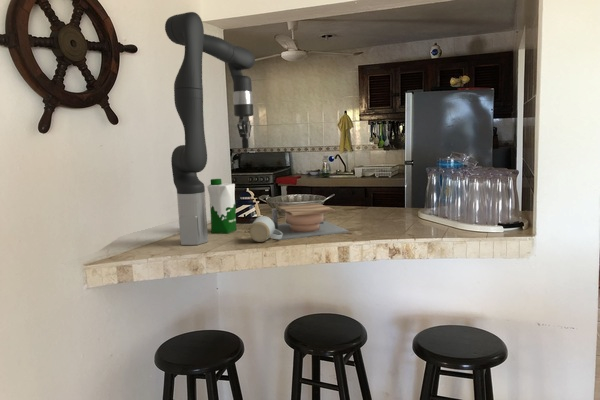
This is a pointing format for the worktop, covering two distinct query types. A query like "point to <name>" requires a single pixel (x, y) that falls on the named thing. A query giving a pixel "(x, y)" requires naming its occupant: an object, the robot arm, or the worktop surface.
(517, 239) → the worktop surface
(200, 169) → the robot arm
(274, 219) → the hinge posts
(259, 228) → the ceramic mug
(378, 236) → the worktop surface
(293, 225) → the terracotta bowl
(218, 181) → the milk carton
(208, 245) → the worktop surface
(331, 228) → the slate mat
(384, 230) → the worktop surface
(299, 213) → the cover sheet
